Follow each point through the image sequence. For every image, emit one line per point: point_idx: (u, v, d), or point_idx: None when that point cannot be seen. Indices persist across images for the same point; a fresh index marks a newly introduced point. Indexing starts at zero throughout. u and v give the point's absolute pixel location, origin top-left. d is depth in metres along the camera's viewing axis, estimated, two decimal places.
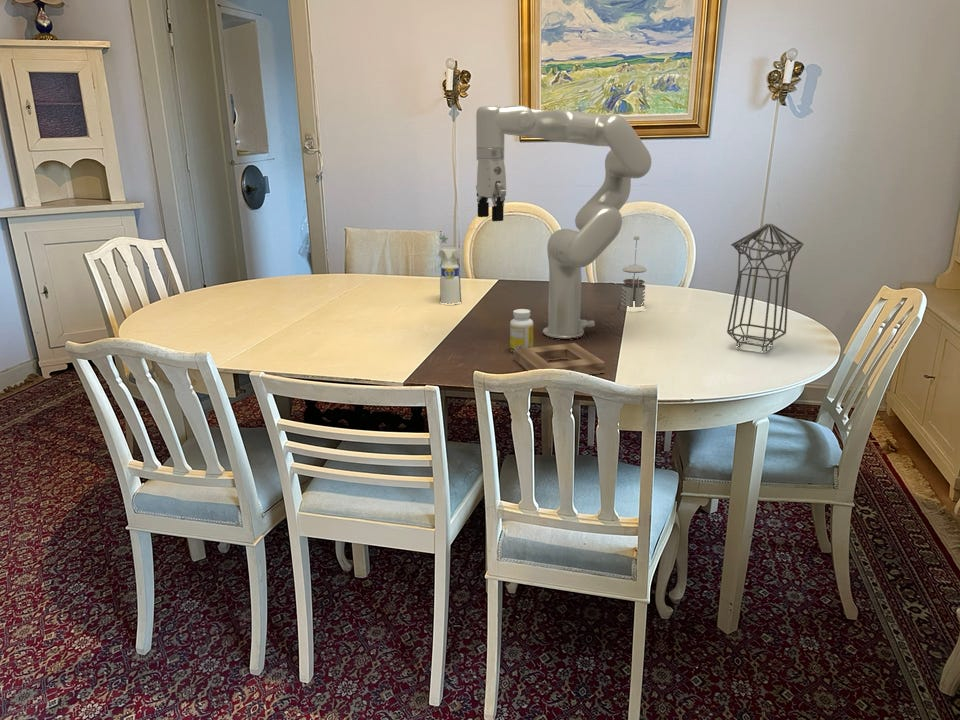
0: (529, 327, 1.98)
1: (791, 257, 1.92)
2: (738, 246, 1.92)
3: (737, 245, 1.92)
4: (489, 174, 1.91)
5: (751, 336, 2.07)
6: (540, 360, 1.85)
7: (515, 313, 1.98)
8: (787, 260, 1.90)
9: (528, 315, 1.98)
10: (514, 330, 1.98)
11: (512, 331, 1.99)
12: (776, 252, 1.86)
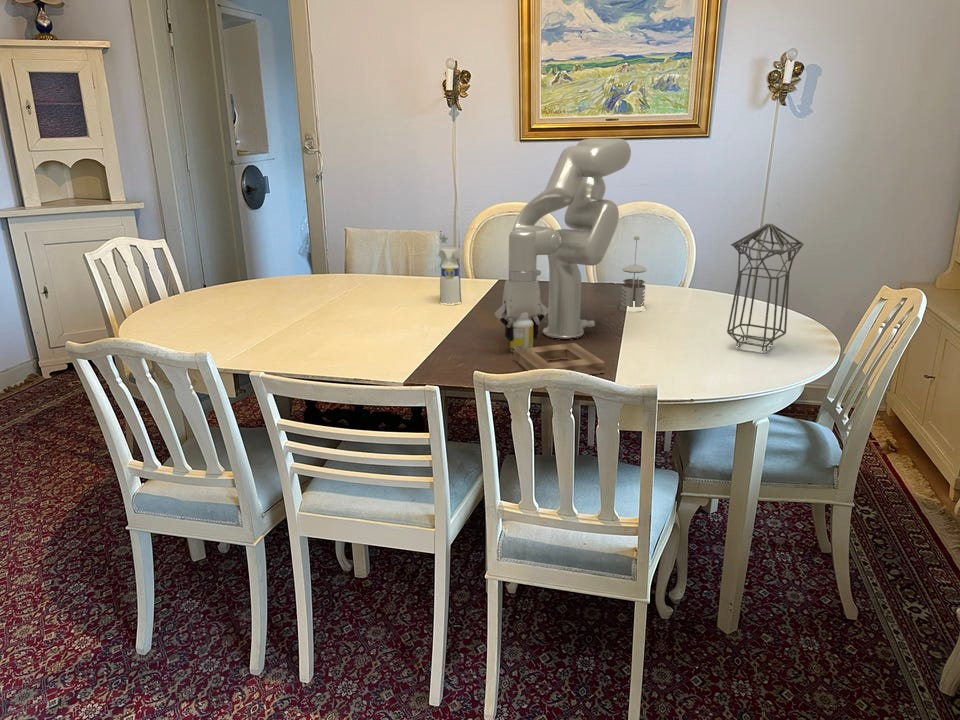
0: (529, 327, 1.98)
1: (791, 257, 1.92)
2: (738, 246, 1.92)
3: (737, 245, 1.92)
4: (538, 293, 1.97)
5: (751, 336, 2.07)
6: (540, 360, 1.85)
7: None
8: (787, 260, 1.90)
9: None
10: (514, 330, 1.98)
11: None
12: (776, 252, 1.86)
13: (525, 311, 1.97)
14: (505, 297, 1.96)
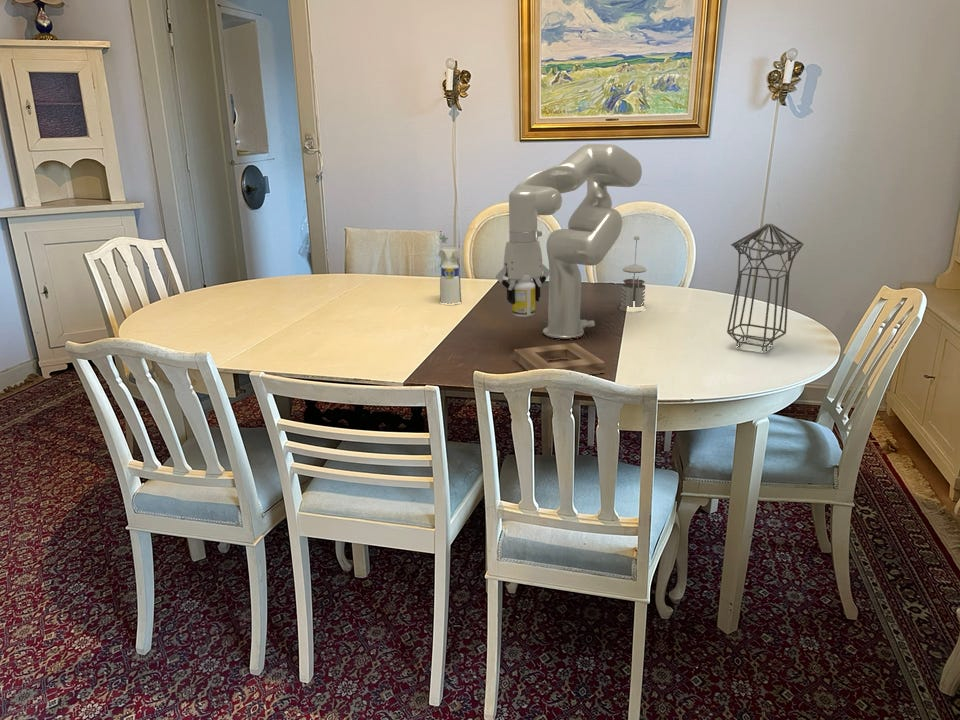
0: (531, 290, 1.95)
1: (791, 257, 1.92)
2: (738, 246, 1.92)
3: (737, 245, 1.92)
4: (540, 255, 1.94)
5: (751, 336, 2.07)
6: (540, 360, 1.85)
7: None
8: (787, 260, 1.90)
9: None
10: (516, 293, 1.96)
11: None
12: (776, 252, 1.86)
13: (527, 273, 1.94)
14: (506, 259, 1.93)
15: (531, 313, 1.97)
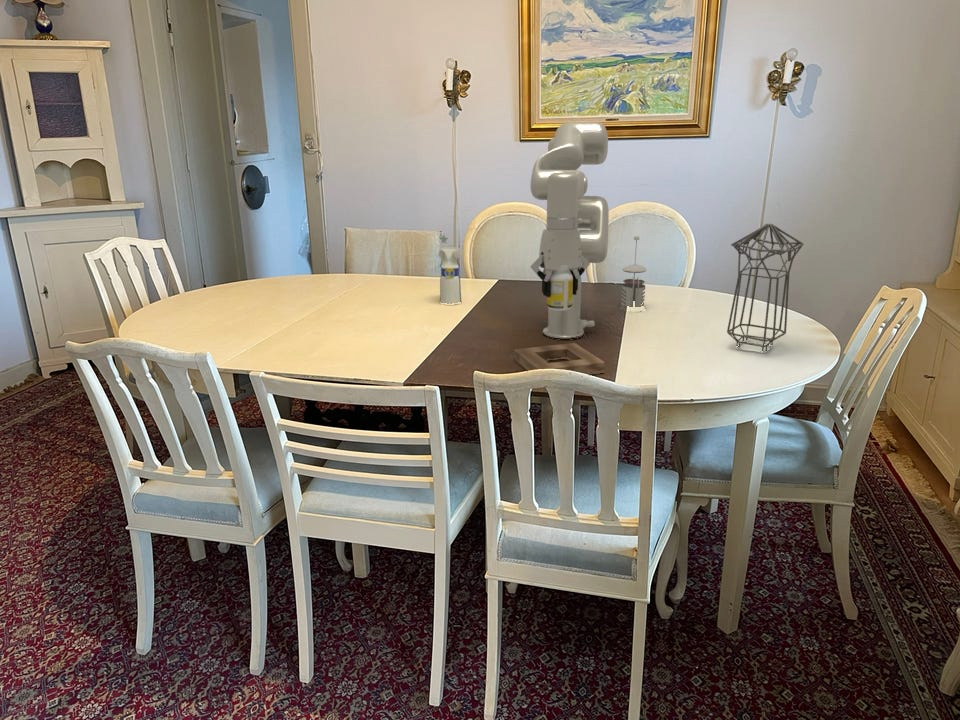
0: (569, 281, 1.80)
1: (791, 257, 1.92)
2: (738, 246, 1.92)
3: (737, 245, 1.92)
4: (579, 244, 1.79)
5: (751, 336, 2.07)
6: (540, 360, 1.85)
7: None
8: (787, 260, 1.90)
9: (567, 268, 1.80)
10: (552, 285, 1.80)
11: None
12: (776, 252, 1.86)
13: (564, 263, 1.79)
14: (542, 248, 1.78)
15: (568, 307, 1.82)
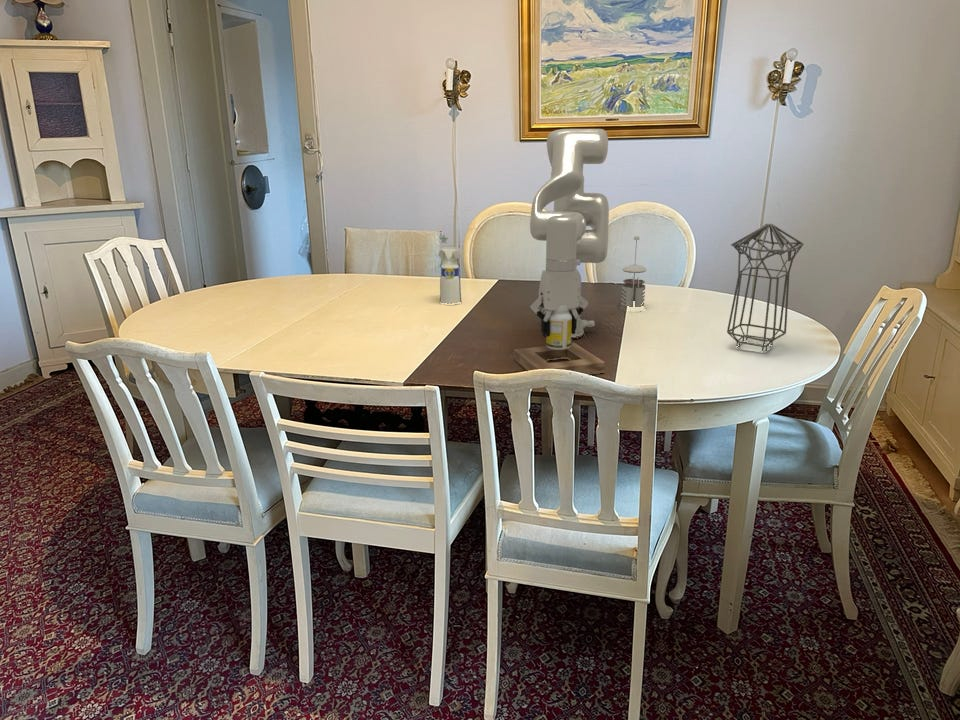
0: (568, 321, 1.83)
1: (791, 257, 1.91)
2: (738, 246, 1.92)
3: (737, 245, 1.92)
4: (578, 284, 1.82)
5: (751, 336, 2.07)
6: (540, 360, 1.85)
7: None
8: (787, 260, 1.90)
9: (566, 308, 1.83)
10: (551, 324, 1.83)
11: None
12: (776, 252, 1.86)
13: (563, 304, 1.82)
14: (542, 289, 1.81)
15: (567, 346, 1.85)
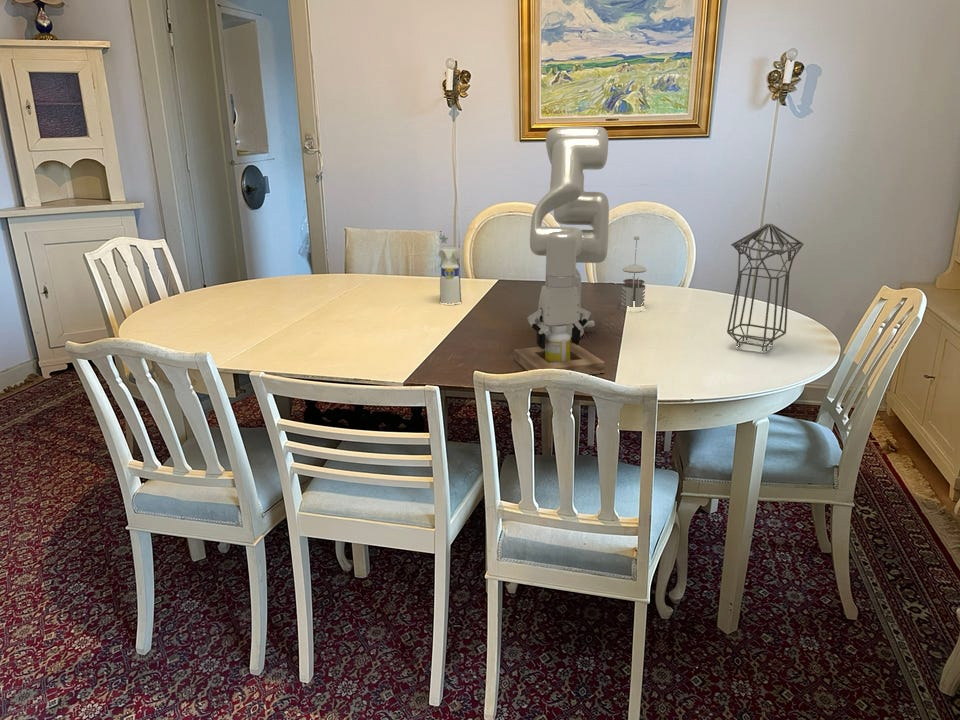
0: (567, 342, 1.85)
1: (791, 257, 1.92)
2: (738, 246, 1.92)
3: (737, 245, 1.92)
4: (577, 300, 1.83)
5: (751, 336, 2.07)
6: (540, 360, 1.85)
7: (551, 326, 1.85)
8: (787, 260, 1.90)
9: (565, 328, 1.85)
10: (550, 345, 1.85)
11: (548, 346, 1.86)
12: (776, 252, 1.86)
13: (563, 319, 1.83)
14: (541, 304, 1.83)
15: None
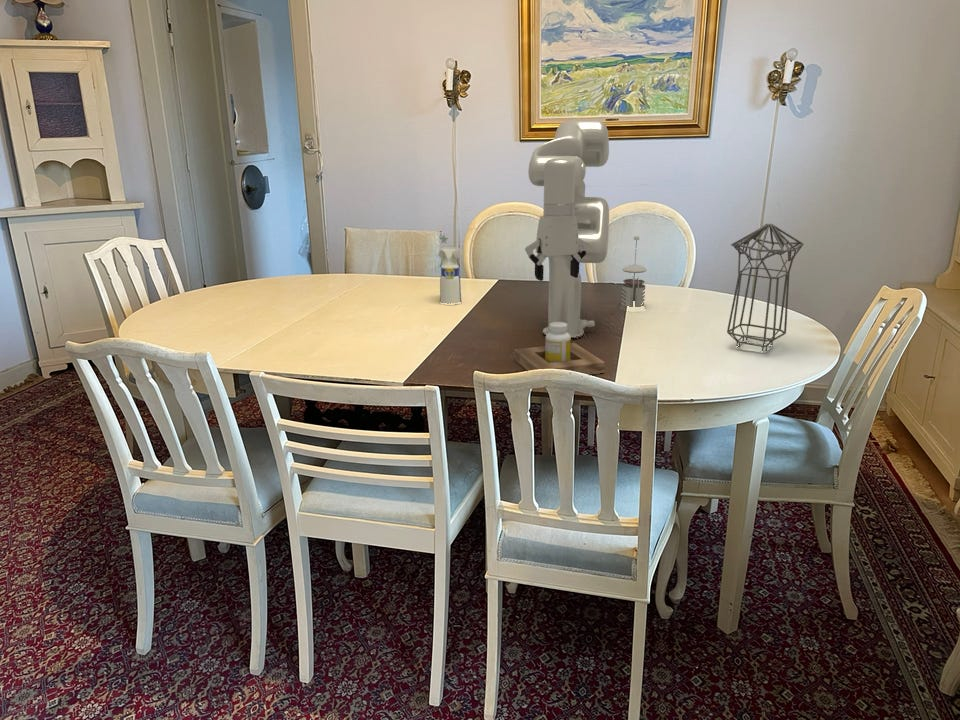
0: (567, 342, 1.85)
1: (791, 257, 1.92)
2: (738, 246, 1.92)
3: (737, 245, 1.92)
4: (576, 230, 1.79)
5: (751, 336, 2.07)
6: (540, 360, 1.85)
7: (551, 326, 1.85)
8: (787, 260, 1.90)
9: (565, 329, 1.85)
10: (550, 345, 1.85)
11: (548, 346, 1.86)
12: (776, 252, 1.86)
13: (562, 249, 1.79)
14: (539, 234, 1.78)
15: None
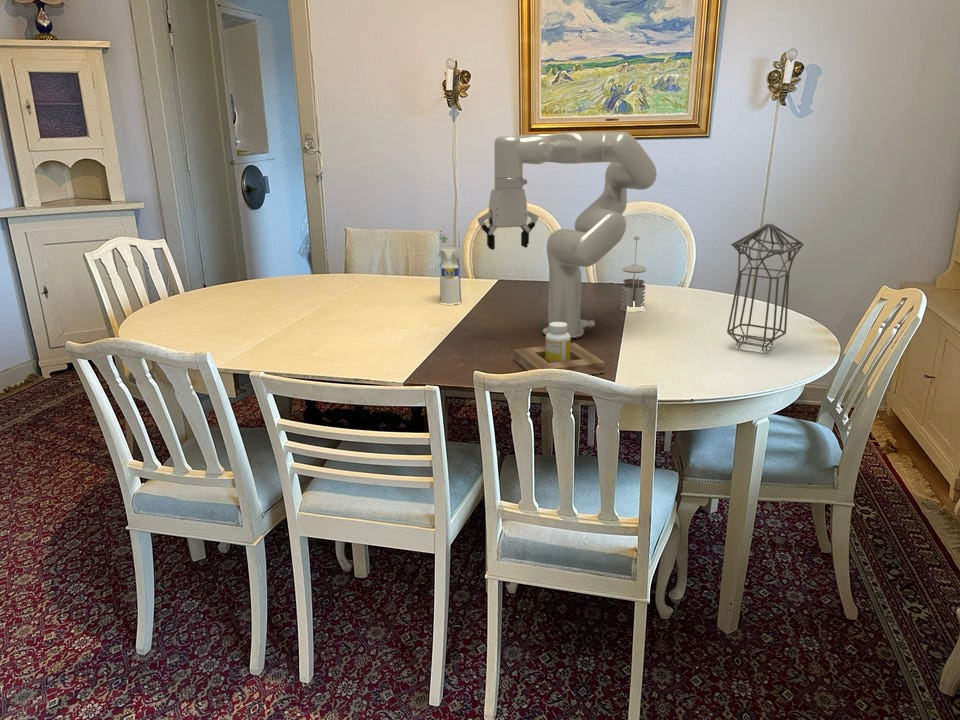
0: (567, 342, 1.85)
1: (791, 257, 1.92)
2: (738, 246, 1.92)
3: (737, 245, 1.92)
4: (525, 202, 1.94)
5: (751, 336, 2.07)
6: (540, 360, 1.85)
7: (551, 326, 1.85)
8: (787, 260, 1.90)
9: (565, 329, 1.85)
10: (550, 345, 1.85)
11: (548, 346, 1.86)
12: (776, 252, 1.86)
13: (511, 220, 1.94)
14: (491, 206, 1.94)
15: None
